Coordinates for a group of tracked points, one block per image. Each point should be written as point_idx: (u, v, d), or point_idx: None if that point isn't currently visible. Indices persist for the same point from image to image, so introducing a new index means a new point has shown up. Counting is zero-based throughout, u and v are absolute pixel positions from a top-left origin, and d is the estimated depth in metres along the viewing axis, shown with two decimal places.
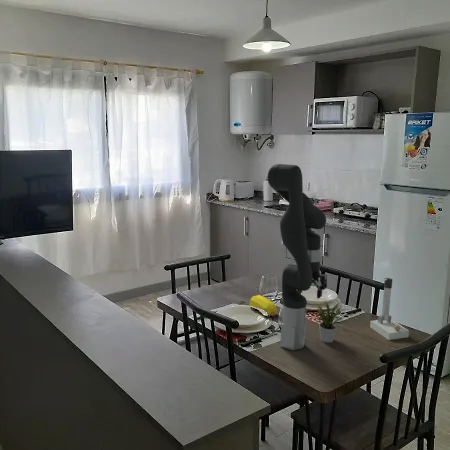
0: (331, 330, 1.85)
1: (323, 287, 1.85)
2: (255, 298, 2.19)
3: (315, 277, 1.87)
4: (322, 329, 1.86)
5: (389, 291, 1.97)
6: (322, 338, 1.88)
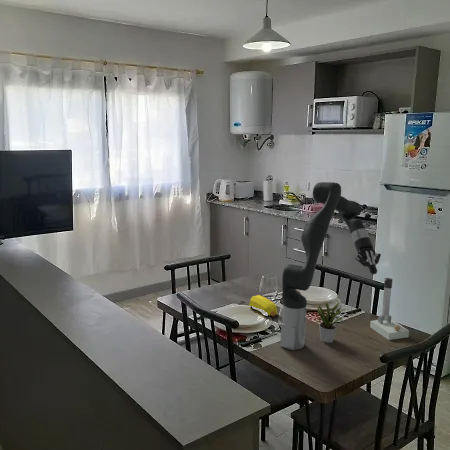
0: (331, 330, 1.85)
1: (377, 261, 2.08)
2: (255, 298, 2.18)
3: (373, 254, 2.10)
4: (322, 329, 1.86)
5: (389, 291, 1.97)
6: (322, 338, 1.88)
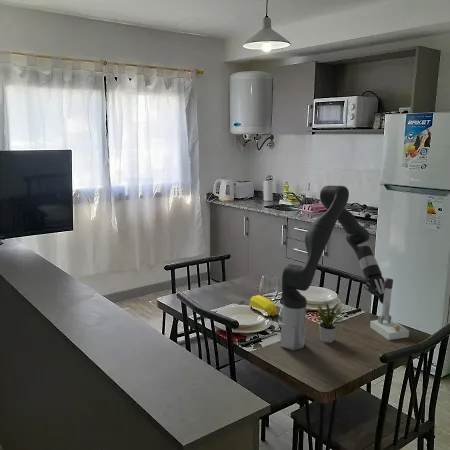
0: (331, 330, 1.85)
1: None
2: (255, 298, 2.18)
3: (382, 282, 2.04)
4: (322, 329, 1.86)
5: (389, 291, 1.96)
6: (322, 338, 1.88)
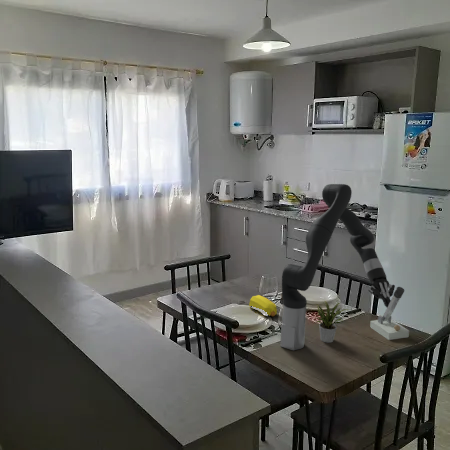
0: (331, 330, 1.85)
1: (391, 293, 1.99)
2: (255, 298, 2.18)
3: (387, 286, 2.01)
4: (322, 329, 1.86)
5: (397, 299, 1.92)
6: (322, 338, 1.88)
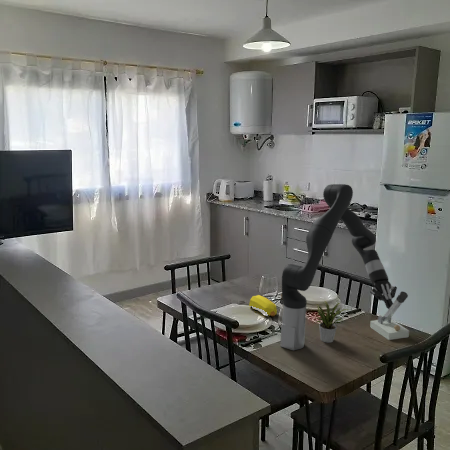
0: (331, 330, 1.85)
1: (393, 294, 1.98)
2: (255, 298, 2.18)
3: (389, 287, 2.00)
4: (322, 329, 1.86)
5: (400, 303, 1.90)
6: (322, 338, 1.88)
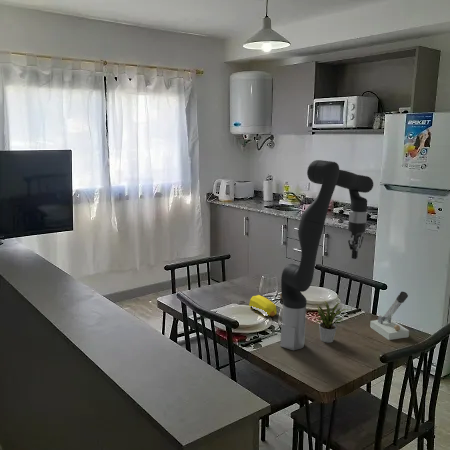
0: (331, 330, 1.85)
1: (360, 245, 2.07)
2: (255, 298, 2.19)
3: None
4: (322, 329, 1.86)
5: (400, 303, 1.90)
6: (322, 338, 1.88)
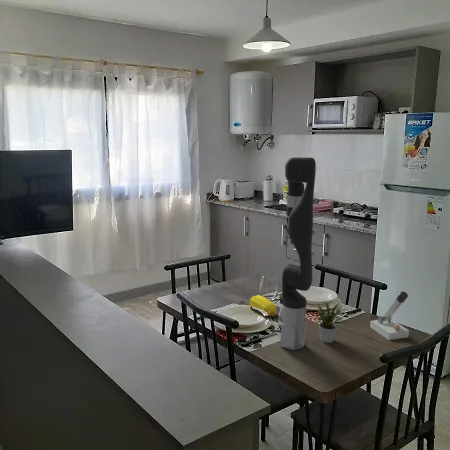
0: (331, 330, 1.85)
1: None
2: (255, 298, 2.19)
3: None
4: (322, 329, 1.86)
5: (400, 303, 1.90)
6: (322, 338, 1.88)
